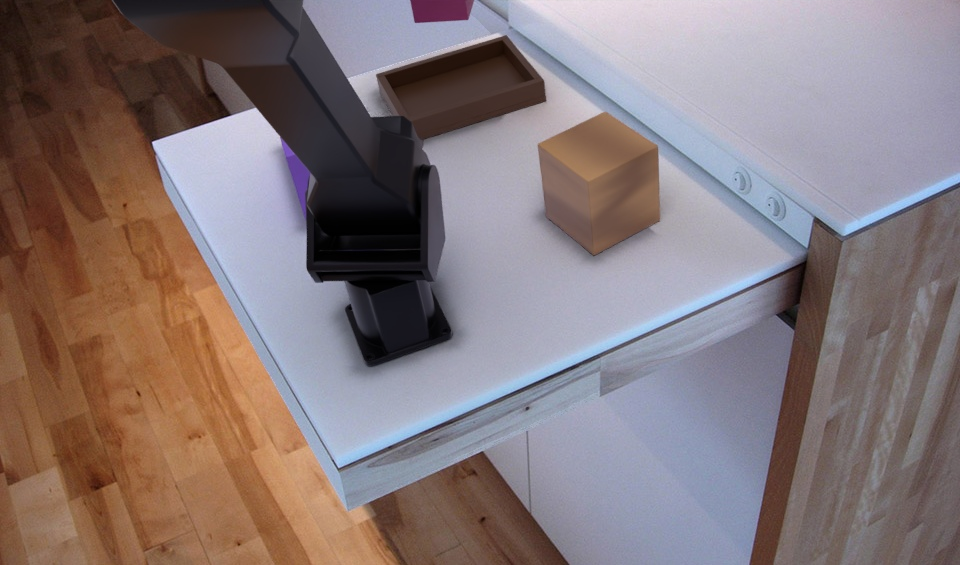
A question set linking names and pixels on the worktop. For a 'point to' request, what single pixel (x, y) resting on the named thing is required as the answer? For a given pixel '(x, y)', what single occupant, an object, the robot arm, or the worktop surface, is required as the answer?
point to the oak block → (600, 182)
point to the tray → (462, 87)
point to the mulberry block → (441, 10)
